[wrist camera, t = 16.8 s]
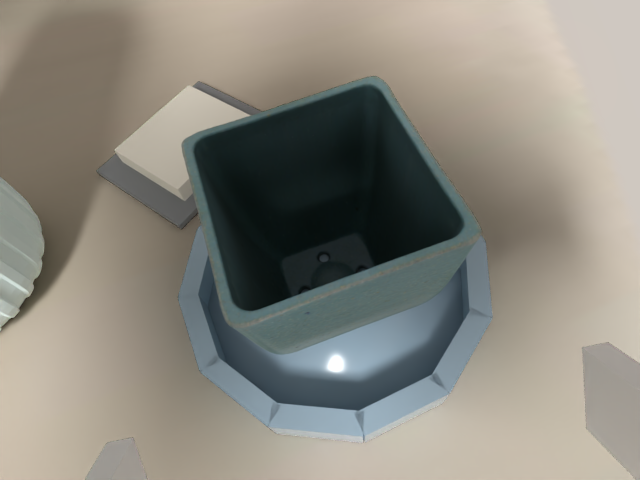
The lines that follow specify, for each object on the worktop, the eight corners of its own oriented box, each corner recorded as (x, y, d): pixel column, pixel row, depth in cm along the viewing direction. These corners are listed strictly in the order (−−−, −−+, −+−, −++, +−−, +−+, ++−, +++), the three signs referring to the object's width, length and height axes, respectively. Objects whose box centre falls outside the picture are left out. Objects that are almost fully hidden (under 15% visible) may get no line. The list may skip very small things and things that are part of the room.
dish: (378, 516, 19) (379, 517, 17) (140, 323, 24) (121, 308, 23) (528, 251, 24) (542, 230, 23) (306, 142, 30) (302, 118, 28)
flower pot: (233, 245, 26) (176, 134, 18) (376, 195, 27) (379, 69, 19) (277, 394, 21) (226, 332, 14) (447, 328, 22) (489, 235, 14)
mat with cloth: (181, 229, 27) (171, 214, 26) (99, 174, 30) (86, 159, 29) (282, 125, 31) (278, 107, 30) (200, 85, 34) (193, 67, 33)
